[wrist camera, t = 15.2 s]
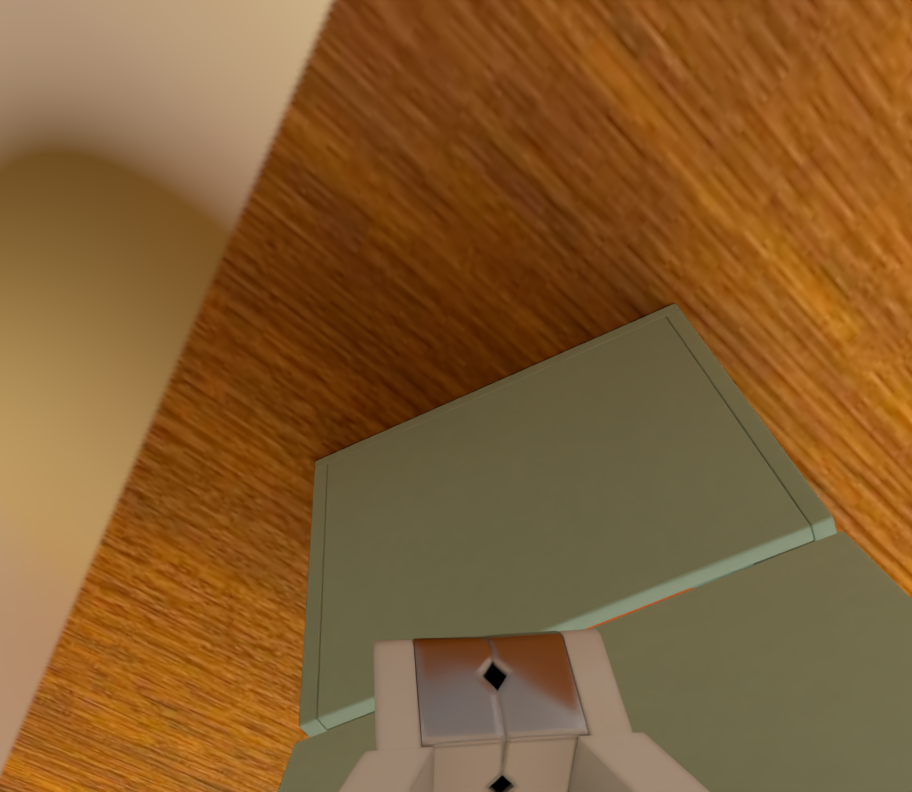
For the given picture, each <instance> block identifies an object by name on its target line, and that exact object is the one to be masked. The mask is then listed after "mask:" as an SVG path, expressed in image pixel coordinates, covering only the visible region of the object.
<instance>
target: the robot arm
mask: <svg viewBox="0 0 912 792" xmlns="http://www.w3.org/2000/svg"><path fill="white" fill-rule="evenodd" d="M374 691H375V733H376V750H370V751H364V753H363V754H362V756H361V757H360V759H359V760H358V762H357V763H356V765H355V766H354V768H353V769H352V771H351V772H350V774H349V775H348V777H347V778H346V780H345V782H344V783H343V785H342V786H341V788H340V789H339V791H338V792H710V791H709V790H708V789H707V788H706V787H704V786H703V785H702V784H701V783H700V782H699V781H698V780H697V779H696V778H694V777H693V776H692V775H691V774H690V773H689V772H688V771H687V770H686V769H684V768H683V767H682V766H681V765H680V764H679V763H678V762H677V761H676V760H674V759H673V758H672V757H671V756H670V755H669V754H668V753H667V752H666V751H664V750H663V749H662V748H661V747H660V746H659V745H658V744H657V743H656V742H654V741H653V740H652V739H651V738H650V737H649V736H648V735H647V734H645V733H644V732H633V731H632V728H631V725H630V722H629V719H628V716H627V713H626V710H625V707H624V704H623V701H622V698H621V695H620V692H619V688H618V685H617V682H616V679H615V676H614V673H613V670H612V667H611V664H610V661H609V658H608V655H607V652H606V649H605V645H604V642H603V639H602V636H601V634H600V633H599V632H598V631H597V630H596V629H584V630H567V631H559V632H558V631H544V632H529V633H514V634H499V635H486V636H485V637H451V638H416V639H413V641H412V639H400V640H375V642H374Z"/></svg>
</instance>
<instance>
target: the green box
mask: <svg viewBox="0 0 912 792" xmlns="http://www.w3.org/2000/svg"><path fill="white" fill-rule="evenodd" d="M836 533H837V530H836V527H835V523H834V519H833V516H832V515H831V513H830V512H829V511H828V509H827V508H826V507H825V505H824V504H823V503H822V501H821V500H820V498H819V497H818V496H817V494H816V493H815V492H814V490H813V489H812V488H811V486H810V485H809V484H808V482H807V481H806V479H805V478H804V477H803V475H802V474H801V473H800V471H799V470H798V469H797V467H796V466H795V465H794V463H793V462H792V460H791V459H790V458H789V456H788V455H787V454H786V452H785V451H784V450H783V448H782V447H781V446H780V444H779V443H778V441H777V440H776V439H775V437H774V436H773V435H772V433H771V432H770V431H769V429H768V428H767V427H766V425H765V424H764V422H763V421H762V420H761V418H760V417H759V416H758V414H757V413H756V412H755V410H754V409H753V408H752V406H751V405H750V403H749V402H748V401H747V399H746V398H745V397H744V395H743V394H742V393H741V391H740V390H739V389H738V387H737V386H736V384H735V383H734V382H733V380H732V379H731V378H730V376H729V375H728V374H727V372H726V371H725V370H724V368H723V367H722V365H721V364H720V363H719V361H718V360H717V359H716V357H715V356H714V355H713V353H712V352H711V351H710V349H709V348H708V346H707V345H706V344H705V342H704V341H703V340H702V338H701V337H700V336H699V334H698V333H697V332H696V330H695V329H694V327H693V326H692V325H691V323H690V322H689V321H688V319H687V318H686V317H685V315H684V314H683V313H682V311H681V310H680V308H679V307H678V306H677V304H672V305H670V306H667V307H665V308H663V309H661V310H658V311H656V312H654V313H652V314H649V315H647V316H645V317H642V318H640V319H638V320H636V321H633V322H631V323H629V324H627V325H624V326H622V327H620V328H617V329H615V330H613V331H611V332H608V333H606V334H604V335H602V336H599V337H597V338H595V339H592V340H590V341H588V342H586V343H583V344H581V345H579V346H576V347H574V348H572V349H570V350H567V351H565V352H563V353H561V354H558V355H556V356H554V357H551V358H549V359H547V360H545V361H542V362H540V363H538V364H536V365H533V366H531V367H529V368H526V369H524V370H522V371H520V372H517V373H515V374H513V375H511V376H508V377H506V378H504V379H501V380H499V381H497V382H495V383H492V384H490V385H488V386H485V387H483V388H481V389H479V390H476V391H474V392H472V393H470V394H467V395H465V396H463V397H460V398H458V399H456V400H454V401H451V402H449V403H447V404H445V405H442V406H440V407H438V408H435V409H433V410H431V411H429V412H426V413H424V414H422V415H420V416H417V417H415V418H413V419H410V420H408V421H406V422H404V423H401V424H399V425H397V426H395V427H392V428H390V429H388V430H385V431H383V432H381V433H379V434H376V435H374V436H372V437H369V438H367V439H365V440H363V441H360V442H358V443H356V444H354V445H351V446H349V447H347V448H344V449H342V450H340V451H338V452H335V453H333V454H331V455H329V456H326V457H324V458H322V459H319V460H317V461H316V462H315V475H314V491H313V507H312V522H311V538H310V554H309V570H308V586H307V602H306V618H305V634H304V650H303V666H302V682H301V698H300V714H299V726H300V728H301V729H302V730H303V731H304V732H305V733H306V734H307V735H308V736H309V737H310V738H311V737H313V736H316V735H318V734H321V733H323V732H326V731H329V730H331V729H334V728H336V727H339V726H341V725H344V724H347V723H349V722H352V721H354V720H357V719H359V718H362V717H365V716H367V715H370V714H372V713H375V691H374V642H375V640H400V639H412V641H413V639H416V638H451V637H485V636H486V635H499V634H514V633H529V632H544V631H558V632H559V631H567V630H584V629H586V628H589V627H592V626H594V625H597V624H599V623H602V622H604V621H607V620H610V619H612V618H615V617H617V616H620V615H622V614H625V613H628V612H630V611H633V610H635V609H638V608H640V607H643V606H646V605H648V604H651V603H653V602H656V601H658V600H661V599H664V598H666V597H669V596H671V595H674V594H676V593H679V592H682V591H684V590H687V589H689V588H692V587H693V589H694V588H697V587H700V586H702V585H705V584H707V583H710V582H712V581H715V580H718V579H720V578H723V577H725V576H728V575H730V574H733V573H736V572H738V571H741V570H743V569H746V568H749V567H751V566H754V565H756V564H759V563H761V562H764V561H767V560H769V559H772V558H774V557H777V556H779V555H782V554H785V553H787V552H790V551H792V550H795V549H797V548H800V547H803V546H805V545H808V544H810V543H813V542H816V541H818V540H821V539H823V538H826V537H828V536H831V535H834V534H836Z"/></svg>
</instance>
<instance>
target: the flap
mask: <svg viewBox="0 0 912 792" xmlns="http://www.w3.org/2000/svg"><path fill="white" fill-rule="evenodd" d="M591 629H596V630H597V631H598V632H599V633H600V634H601V636H602V639H603V642H604V645H605V649H606V652H607V655H608V658H609V661H610V664H611V667H612V670H613V673H614V676H615V679H616V682H617V685H618V688H619V692H620V695H621V698H622V701H623V704H624V707H625V710H626V713H627V716H628V719H629V722H630V725H631V728H632V731H633V732H644V733H645V734H647V735H648V736H649V737H650V738H651V739H652V740H653V741H654V742H656V743H657V744H658V745H659V746H660V747H661V748H662V749H663V750H664V751H666V752H667V753H668V754H669V755H670V756H671V757H672V758H673V759H674V760H676V761H677V762H678V763H679V764H680V765H681V766H682V767H683V768H684V769H686V770H687V771H688V772H689V773H690V774H691V775H692V776H693V777H694V778H696V779H697V780H698V781H699V782H700V783H701V784H702V785H703V786H704V787H706V788H707V789H708V790H709V791H710V792H912V598H911V597H910V596H909V595H908V594H907V593H905V592H904V591H903V590H902V589H901V588H900V587H899V586H898V585H897V584H896V583H895V582H894V581H893V580H892V579H891V578H890V577H889V576H888V575H887V574H886V573H885V572H884V571H883V570H882V569H881V568H880V567H879V566H878V565H877V564H876V563H875V562H874V561H873V560H872V559H871V558H870V557H869V556H868V555H867V554H866V553H865V552H864V551H863V550H862V549H861V548H860V547H859V546H858V545H857V544H856V543H855V542H854V541H853V540H852V539H851V538H850V537H849V536H848V535H847V534H846V533H845V532H844V531H841V532H839V533H836V534H834V535H831V536H828V537H826V538H823V539H821V540H818V541H816V542H813V543H810V544H808V545H805V546H803V547H800V548H797V549H795V550H792V551H790V552H787V553H785V554H782V555H779V556H777V557H774V558H772V559H769V560H767V561H764V562H761V563H759V564H756V565H754V566H751V567H749V568H746V569H743V570H741V571H738V572H736V573H733V574H730V575H728V576H725V577H723V578H720V579H718V580H715V581H712V582H710V583H707V584H705V585H702V586H700V587H697V588H694V589H692V590H689V591H687V592H684V593H682V594H679V595H676V596H674V597H671V598H669V599H666V600H663V601H661V602H658V603H656V604H653V605H651V606H648V607H645V608H643V609H640V610H638V611H635V612H633V613H630V614H627V615H625V616H622V617H620V618H617V619H615V620H612V621H609V622H607V623H604V624H602V625H599V626H597V627H594V628H591ZM370 750H376V733H375V713H372V714H370V715H367V716H365V717H362V718H359V719H357V720H354V721H352V722H349V723H347V724H344V725H341V726H339V727H336V728H334V729H331V730H329V731H326V732H323V733H321V734H318V735H316V736H313V737H311V738H308V739H305V740H303V741H300V742H298V743H296V744H295V745H294V748H293V751H292V753H291V756H290V759H289V762H288V765H287V767H286V770H285V773H284V776H283V779H282V781H281V784H280V787H279V790H278V792H338V791H339V789H340V788H341V786H342V785H343V783H344V782H345V780H346V778H347V777H348V775H349V774H350V772H351V771H352V769H353V768H354V766H355V765H356V763H357V762H358V760H359V759H360V757H361V756H362V754H363V753H364V751H370Z"/></svg>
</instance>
